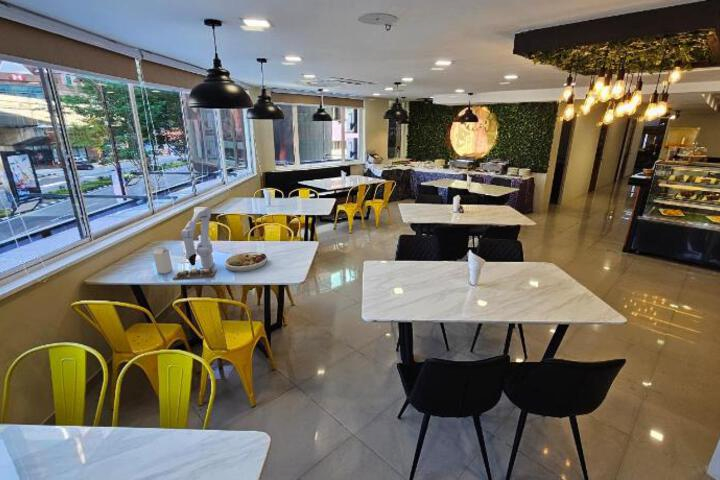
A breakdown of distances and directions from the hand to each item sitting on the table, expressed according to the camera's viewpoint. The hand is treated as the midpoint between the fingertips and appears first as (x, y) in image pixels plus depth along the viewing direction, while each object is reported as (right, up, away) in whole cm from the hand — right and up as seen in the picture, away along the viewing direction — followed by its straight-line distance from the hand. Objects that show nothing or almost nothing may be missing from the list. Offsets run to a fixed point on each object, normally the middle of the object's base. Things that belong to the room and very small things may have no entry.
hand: (193, 265), depth 242 cm
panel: (0, -7, +4) cm, 8 cm away
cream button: (0, -5, +2) cm, 5 cm away
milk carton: (-26, -6, +12) cm, 29 cm away
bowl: (+31, -2, +19) cm, 36 cm away
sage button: (-8, -7, +1) cm, 10 cm away
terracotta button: (+8, -6, +3) cm, 10 cm away
